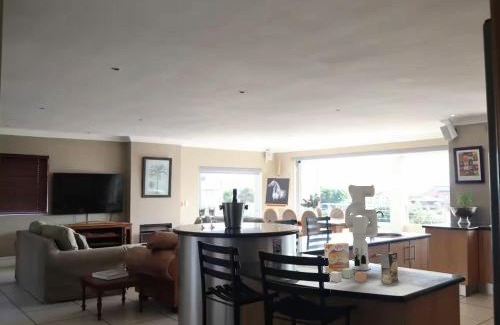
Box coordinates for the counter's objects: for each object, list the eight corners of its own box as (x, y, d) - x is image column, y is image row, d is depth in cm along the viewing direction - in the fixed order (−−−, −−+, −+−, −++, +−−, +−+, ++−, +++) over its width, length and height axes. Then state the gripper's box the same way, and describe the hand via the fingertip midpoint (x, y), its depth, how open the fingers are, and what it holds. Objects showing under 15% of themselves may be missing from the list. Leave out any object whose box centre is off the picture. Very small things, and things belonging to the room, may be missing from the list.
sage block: (345, 275, 271) (345, 268, 272) (353, 276, 268) (352, 268, 269) (342, 277, 267) (342, 269, 268) (350, 278, 264) (349, 269, 265)
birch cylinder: (384, 281, 250) (383, 273, 251) (392, 282, 247) (392, 274, 248) (381, 283, 246) (380, 274, 247) (389, 284, 243) (389, 275, 244)
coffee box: (391, 281, 251) (390, 254, 253) (381, 280, 256) (380, 253, 257) (398, 279, 258) (397, 252, 259) (388, 277, 262) (387, 251, 264)
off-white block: (334, 279, 260) (333, 271, 260) (341, 280, 257) (341, 272, 257) (330, 281, 256) (330, 272, 256) (338, 281, 253) (337, 273, 253)
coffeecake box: (328, 274, 278) (327, 244, 280) (324, 272, 285) (323, 243, 286) (350, 273, 281) (349, 243, 282) (345, 271, 288) (344, 242, 289)
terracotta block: (358, 280, 258) (358, 271, 258) (366, 280, 255) (366, 272, 255) (355, 281, 254) (355, 272, 254) (363, 282, 251) (363, 273, 251)
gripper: (359, 235, 265) (360, 262, 264) (347, 237, 252) (348, 266, 250) (370, 235, 261) (371, 263, 259) (359, 237, 247) (360, 267, 245)
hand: (360, 265), depth 255 cm, fingers open, 9 cm apart
